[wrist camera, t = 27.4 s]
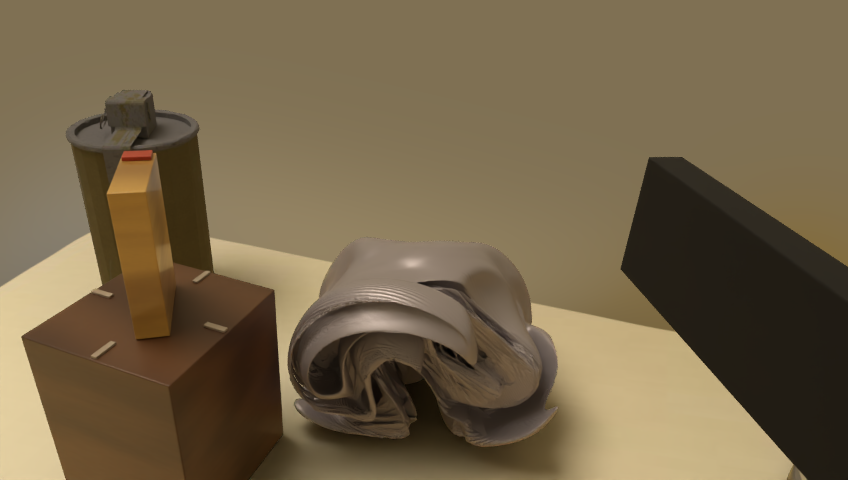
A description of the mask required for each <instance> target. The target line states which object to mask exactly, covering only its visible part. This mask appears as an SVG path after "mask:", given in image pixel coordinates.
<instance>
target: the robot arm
mask: <svg viewBox="0 0 848 480" xmlns="http://www.w3.org/2000/svg"><path fill="white" fill-rule="evenodd" d="M621 270H622V271H623V272H624V273H625V275H626V276H627V277H628V278H629V279H630V280H631V281H632V282H633V284H634V285H635V286H636V287H637V288H638V289H639V290H640V292H641V293H642V294H643V295H644V296H645V297H646V298H647V299H648V301H649V302H650V303H651V304H652V305H653V306H654V307H655V308H656V309H657V311H658V312H659V313H660V314H661V315H662V316H663V317H664V319H665V320H666V321H667V322H668V323H669V324H670V325H671V326H672V328H673V329H674V330H675V331H676V332H677V333H678V334H679V336H680V337H681V338H682V339H683V340H684V341H685V342H686V343H687V345H688V346H689V347H690V348H691V349H692V350H693V351H694V352H695V354H696V355H697V356H698V357H699V358H700V359H701V360H702V361H703V363H704V364H705V365H706V366H707V367H708V368H709V369H710V370H711V372H712V373H713V374H714V375H715V376H716V377H717V378H718V380H719V381H720V382H721V383H722V384H723V385H724V386H725V387H726V389H727V390H728V391H729V392H730V393H731V394H732V395H733V396H734V398H735V399H736V400H737V401H738V402H739V403H740V404H741V405H742V407H743V408H744V409H745V410H746V411H747V412H748V413H749V414H750V416H751V417H752V418H753V419H754V420H755V421H756V422H757V424H758V425H759V426H760V427H761V428H762V429H763V430H764V431H765V433H766V434H767V435H768V436H769V437H770V438H771V439H772V440H773V442H774V443H775V444H776V445H777V446H778V447H779V448H780V449H781V451H782V452H783V453H784V454H785V455H786V456H787V457H788V458H789V460H790V461H791V462H792V463H793V464H794V465H793V467H792V469H791V470H790V473H789V475H788V478H787V480H848V267H847V266H846V265H844V264H843V263H841V262H840V261H838V260H837V259H835V258H834V257H832V256H831V255H829V254H827V253H826V252H825V251H823V250H822V249H820V248H819V247H817V246H815V245H814V244H812V243H811V242H809V241H808V240H806V239H805V238H803V237H802V236H800V235H799V234H797V233H796V232H794V231H793V230H791V229H790V228H788V227H787V226H785V225H784V224H782V223H781V222H779V221H778V220H776V219H775V218H773V217H771V216H770V215H769V214H767V213H765V212H764V211H763V210H761V209H759V208H758V207H756V206H755V205H753V204H752V203H750V202H749V201H747V200H746V199H744V198H743V197H741V196H740V195H738V194H737V193H735V192H734V191H732V190H731V189H729V188H728V187H726V186H724V185H723V184H722V183H720V182H719V181H717V180H715V179H714V178H712V177H711V176H709V175H708V174H707V173H705V172H704V171H702V170H701V169H699V168H698V167H696V166H694V165H693V164H691V163H690V162H688V161H687V160H685V159H684V158H682V157H649V160H648V164H647V168H646V171H645V175H644V179H643V183H642V187H641V191H640V195H639V199H638V203H637V207H636V211H635V214H634V218H633V222H632V226H631V230H630V234H629V238H628V242H627V246H626V250H625V254H624V257H623V261H622V265H621Z"/></svg>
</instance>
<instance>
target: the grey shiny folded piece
mask: <svg viewBox="0 0 848 480" xmlns="http://www.w3.org/2000/svg"><path fill="white" fill-rule="evenodd" d="M531 323H532V314H531V303H530V298H529V294H528V290H527V287H526V284H525V282H524V280H523V278H522V276H521V274H520V273H519V271H518V270H517V268H516V267H515V265H514V264H513V263H512V262H511V261H510V260H509V259H508V258H507V257H506V256H505V255H504V254H503V253H502V252H500V251H499V250H498V249H496V248H494V247H492V246H490V245H487V244H483V243H475V242H457V241H424V242H405V241H394V240H386V239H379V238H371V237H364V238H359V239H356V240H354V241H353V242H351V243H350V244H349V245H347V246H346V247H345V248H344V249H343V250H342V252H341V253H340V254H339V255H338V256H337V258H336V259H335V260H334V262H333V263H332V265H331V267H330V268H329V270H328V272H327V274H326V276H325V278H324V280H323V283H322V286H321V289H320V295H319V299H318V300H317V301H316V302H315V303H314V304H313V305H312V306H311V307H310V308H309V309H308V310H307V311H306V313H305V314H304V315H303V317H302V318H301V320H300V322H299V323H298V325H297V327H296V329H295V331H294V334H293V337H292V339H291V342H290V346H289V352H288V364H287V365H288V370H289V371H288V372H289V374H290V381H291V383H292V385H293V384H294V385H293V386H294V387H293V388H294V389H295V390H296V391H297V393H298V394H299V395H300V396H301V397H302V399H296V400H295V402H294V405H295V407H296V409H297V411H298V412H299V413H300V414H301V415H302V416H304V417H305V418H306V419H308V420H310V421H312V422H313V423H315V424H318V425H320V426H321V427H324V428H328V429H329V430H335V431H337V432H338V431H340V432H343V433H346V434H348V433H349V434H360V435H366V436H370V437H379V439H380V437H381V438H384V437H387V438H392V439H393V438H396V439H397V438H399V439H403V438H404V437H407V436H409V434H410V432H409V427H410V423H412V422H415V421H416V420H417V418H415V417H416V416H417V413H416V407H415V406H414V403H413V401H412V399H411V397H410V395H409V393H408V391H407V389H406V386H405V384H411V383H415V382H418V381H420V380H422V379H425V381H426V382H427V384H428V385H429V386H430V388H431V390H432V392H433V393H434V395H435V397H436V399H437V403H438V407H439V410H440V413H441V415H442V418H443V420H444V422H445V424H446V426H447V427H448V429H449V430H450V431H451V432H452V433H453V434H455V435H457V436H463V437H465V440H466V442H469V443H471V444H472V445H475V446H480V447H491V446H500V445H506V444H511V443H515V442H518V441H521V440H524V439H526V438H528V437H530V436H532V435H534V434H535V433H537V432H538V431H540V430H541V429H542V428H543V427H545V426H546V425H547V424H548V422H549V421H550V420H551V419H552V418H553V416H554V415H555V414H556V411H557V409H558V407H557V406H556V407H553V408H551V409H549V410H546V409H545V404H546V400H547V398H548V395H549V392H552V389H551V388H552V386H553V385H554V383H555V381H554V380H555V377H556V375H557V370H558V364H557V355H556V350H555V347H554V344H553V341H552V339H551V337H550V336H549V334H547V333H546V332H545V331H544V330H542V329H540V328H538V327H536V326H533V325H531ZM293 368H294V369H293ZM293 373H294V374H293ZM294 375H295V377H296V378H295V377H294ZM296 379H297V381H298V382H297V381H296ZM300 384H301V385H303V387H302V386H301V385H300ZM547 389H548V390H547ZM550 390H551V391H550ZM303 392H304V393H305V394H306V395H305V394H304V393H303ZM382 435H384V436H382ZM393 440H394V439H393Z"/></svg>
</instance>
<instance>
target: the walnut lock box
mask: <svg viewBox="0 0 848 480" xmlns="http://www.w3.org/2000/svg"><path fill="white" fill-rule="evenodd" d="M173 266H174V273H175V280H176V290H175V298H174V306H173V314H172V322H171V330H170V336H163V337H154V338H145V339H136V338H135V333H134V328H133V323H132V318H131V313H130V308H129V303H128V298H127V293H126V288H125V283H124V278H123V274H122V273H121V274H120V275H118V276H117V277H115V278H113V279H112V280H110V281H109V282H107V283H106V284H104V285H102V286H101V287H99V288H98V289H94V290H92V291H91V293H90V294H88V295H86V296H85V297H83V298H82V299H80V300H78V301H77V302H75V303H74V304H72V305H71V306H69V307H67V308H66V309H64V310H63V311H61V312H59V313H58V314H56V315H55V316H53V317H51V318H50V319H48V320H47V321H45V322H43V323H42V324H40V325H39V326H37V327H36V328H34V329H32V330H31V331H29V332H28V333H26V334H24V335H23V336H22V337H21V338H22V341H23V344H24V347H25V350H26V354H27V357H28V360H29V363H30V366H31V370H32V373H33V376H34V379H35V382H36V386H37V389H38V392H39V395H40V398H41V402H42V405H43V408H44V411H45V414H46V417H47V421H48V424H49V427H50V430H51V433H52V437H53V440H54V443H55V446H56V449H57V453H58V456H59V459H60V462H61V465H62V469H63V472H64V475H65V478H66V480H249V478H250V477H251V476H252V474H253V473H254V472H255V470H256V469H257V468H258V466H259V465H260V464H261V462H262V461H263V460H264V459H265V457H266V456H267V455H268V453H269V452H270V451H271V449H272V448H273V447H274V445H275V444H276V443H277V441H278V440H279V439H280V438H281V436H282V435H283V423H282V407H281V390H280V374H279V358H278V342H277V325H276V309H275V293H274V290H273V289H269V288H265V287H262V286H258V285H254V284H251V283H247V282H243V281H240V280H236V279H232V278H229V277H225V276H221V275H218V274H214V273H211V272H210V271H203V270H199V269H195V268H192V267H188V266H184V265H181V264H177V263H173Z"/></svg>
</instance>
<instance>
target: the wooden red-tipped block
mask: <svg viewBox="0 0 848 480" xmlns="http://www.w3.org/2000/svg"><path fill="white" fill-rule="evenodd" d="M107 199H108V204H109V209H110V214H111V219H112V224H113V229H114V234H115V239H116V244H117V249H118V254H119V259H120V264H121V269H122V274H123V278H124V283H125V288H126V293H127V298H128V303H129V308H130V313H131V318H132V323H133V328H134V333H135V338H136V339H145V338H154V337H163V336H170V330H171V322H172V314H173V306H174V298H175V290H176V280H175V273H174V266H173V260H172V253H171V247H170V240H169V234H168V227H167V221H166V214H165V208H164V201H163V195H162V188H161V181H160V175H159V168H158V162H157V155H156V153H153V151H152V150H143V151H124V152H123V154H122V156H121V159H120V161H119V164H118V166H117V169H116V171H115V174H114V177H113V179H112V182H111V184H110V187H109V189H108V192H107Z"/></svg>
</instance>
